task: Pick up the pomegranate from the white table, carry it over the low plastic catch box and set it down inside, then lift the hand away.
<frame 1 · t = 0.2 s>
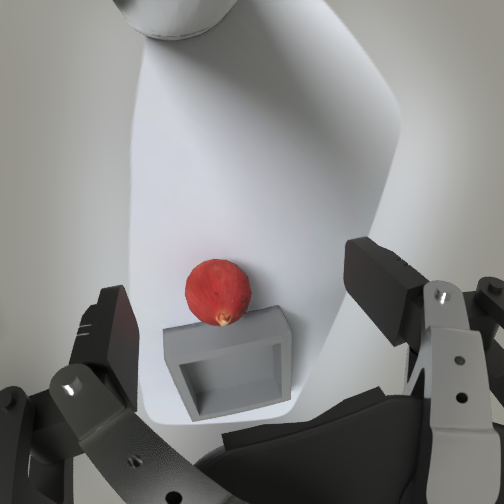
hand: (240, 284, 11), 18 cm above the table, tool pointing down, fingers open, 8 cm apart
pomegranate: (211, 268, 31), on the table
catch box: (228, 356, 38), on the table
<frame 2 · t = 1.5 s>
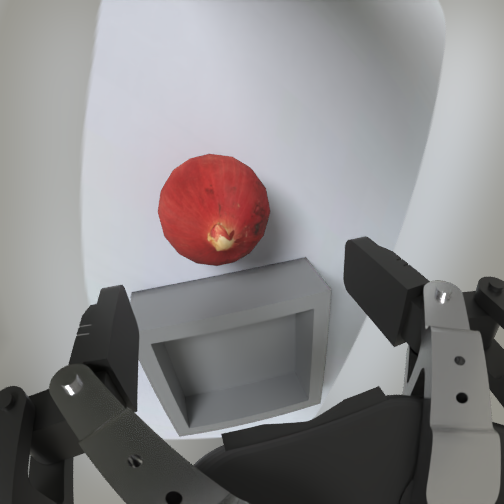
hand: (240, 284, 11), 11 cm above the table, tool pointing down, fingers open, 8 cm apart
pomegranate: (206, 189, 20), on the table
catch box: (231, 340, 26), on the table
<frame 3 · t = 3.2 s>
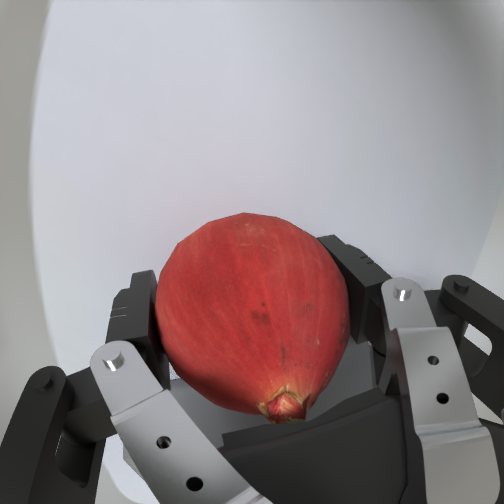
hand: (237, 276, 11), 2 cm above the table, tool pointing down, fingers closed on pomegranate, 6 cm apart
pomegranate: (229, 254, 13), on the table, touching gripper
catch box: (256, 427, 19), on the table
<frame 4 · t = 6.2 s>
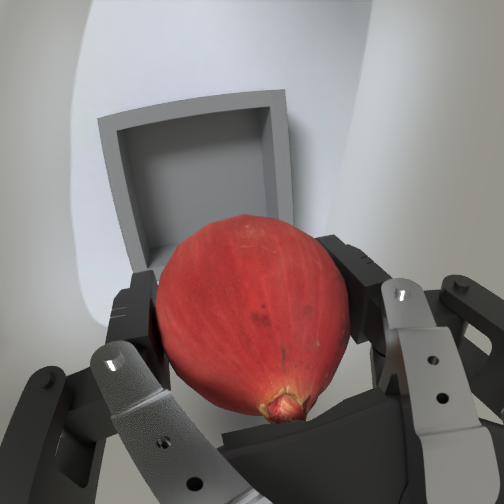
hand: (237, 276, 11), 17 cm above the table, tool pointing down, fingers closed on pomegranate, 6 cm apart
pomegranate: (229, 255, 13), point 15 cm above the table, touching gripper
catch box: (198, 176, 26), on the table
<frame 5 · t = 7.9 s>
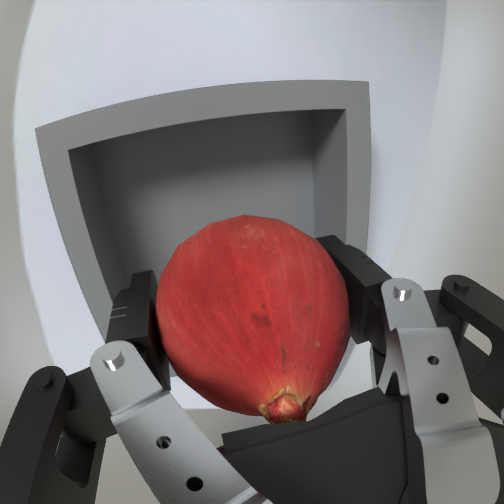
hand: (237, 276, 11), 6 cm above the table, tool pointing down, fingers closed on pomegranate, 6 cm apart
pomegranate: (229, 255, 13), point 5 cm above the table, touching gripper
catch box: (214, 215, 17), on the table
when the fingers open (4 cm above the table, at t = 9.4 s): pomegranate drops 2 cm, resting on catch box.
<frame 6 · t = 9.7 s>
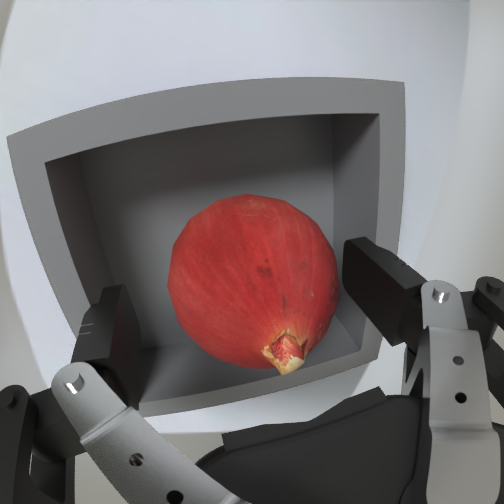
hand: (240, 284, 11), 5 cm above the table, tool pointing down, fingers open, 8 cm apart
pomegranate: (229, 236, 14), point 1 cm above the table, touching catch box
catch box: (220, 233, 15), on the table
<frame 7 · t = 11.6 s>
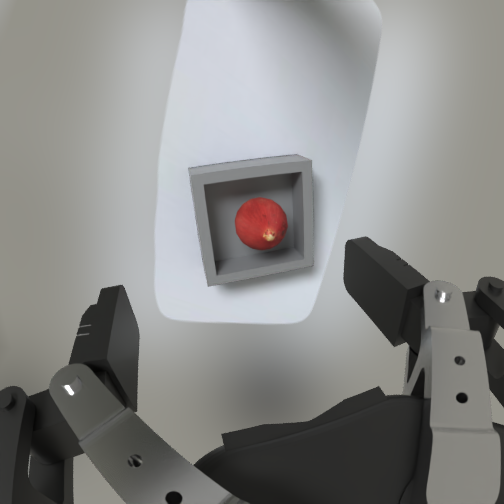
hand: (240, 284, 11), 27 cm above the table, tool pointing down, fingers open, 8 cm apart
pomegranate: (252, 213, 39), point 1 cm above the table, touching catch box
catch box: (249, 212, 39), on the table
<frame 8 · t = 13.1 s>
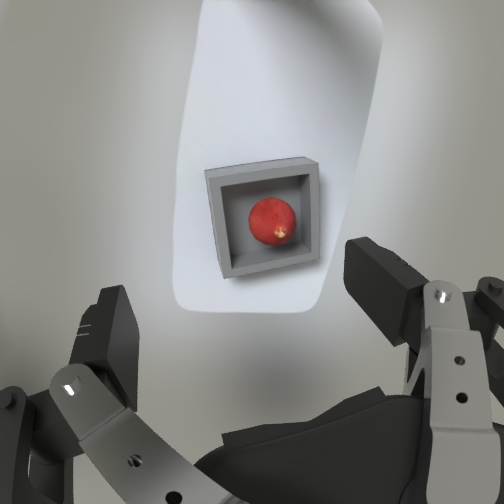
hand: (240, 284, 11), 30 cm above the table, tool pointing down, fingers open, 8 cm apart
pomegranate: (263, 211, 42), point 1 cm above the table, touching catch box
catch box: (260, 210, 43), on the table
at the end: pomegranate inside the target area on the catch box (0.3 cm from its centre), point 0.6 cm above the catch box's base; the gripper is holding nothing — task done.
